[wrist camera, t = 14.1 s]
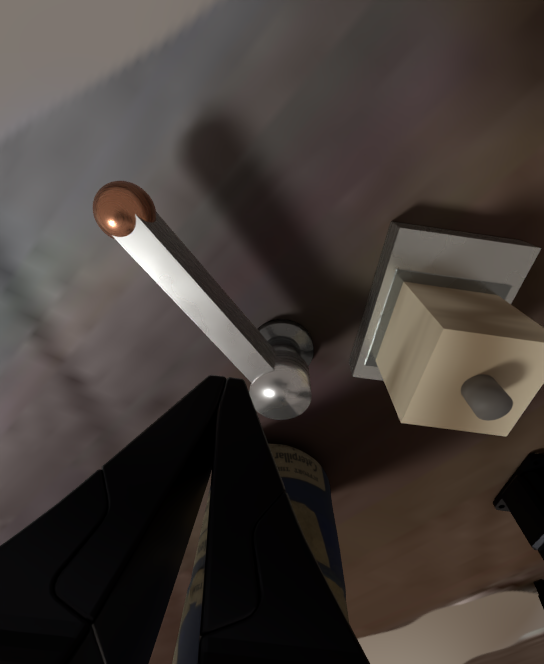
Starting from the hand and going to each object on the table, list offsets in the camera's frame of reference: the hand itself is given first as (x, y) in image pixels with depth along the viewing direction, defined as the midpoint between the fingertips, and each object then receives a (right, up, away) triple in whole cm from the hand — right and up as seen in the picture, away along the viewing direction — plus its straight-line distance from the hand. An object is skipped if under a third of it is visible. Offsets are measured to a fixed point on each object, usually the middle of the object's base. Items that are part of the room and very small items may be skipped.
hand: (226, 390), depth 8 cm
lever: (-2, +3, +9) cm, 9 cm away
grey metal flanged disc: (+2, +1, +13) cm, 13 cm away
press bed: (+10, +3, +11) cm, 15 cm away
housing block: (+10, +2, +10) cm, 14 cm away
